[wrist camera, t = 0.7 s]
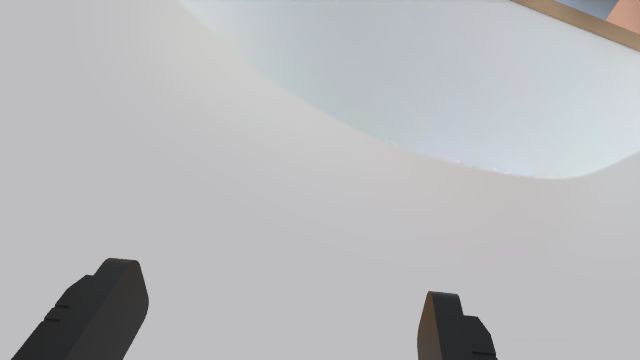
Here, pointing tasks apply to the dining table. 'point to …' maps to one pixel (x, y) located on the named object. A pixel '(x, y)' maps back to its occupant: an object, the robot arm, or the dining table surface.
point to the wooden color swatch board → (596, 17)
